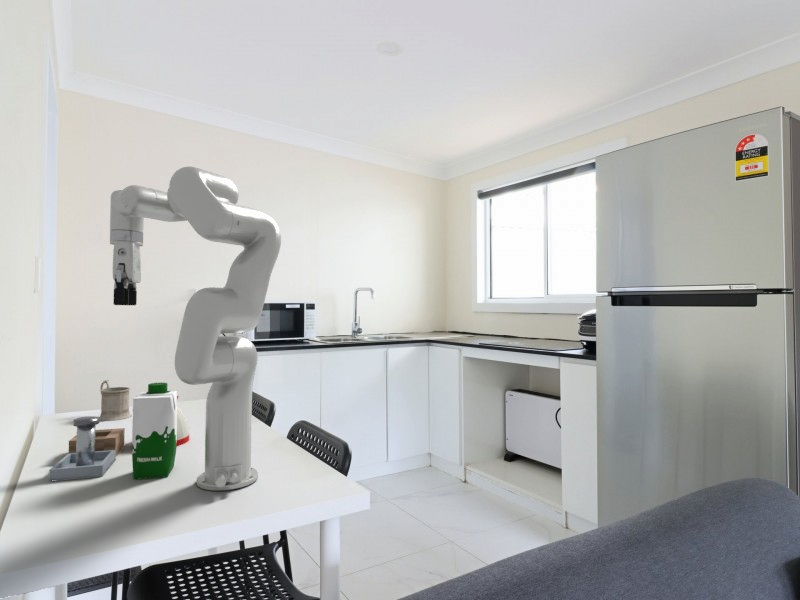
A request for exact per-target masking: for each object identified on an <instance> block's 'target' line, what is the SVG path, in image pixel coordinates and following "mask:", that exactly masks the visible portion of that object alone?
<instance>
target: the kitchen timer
mask: <svg viewBox="0 0 800 600" xmlns="http://www.w3.org/2000/svg"><path fill="white" fill-rule="evenodd" d="M178 399H179V395H177V400H178ZM189 441H190V429H189V426H188V422H187V419H186V416H185V414H184V413H183V411H182V409H181V408H180V407H179V406H178V405H177V447H179V446H182V445H184V444H186V443H188V442H189Z"/></svg>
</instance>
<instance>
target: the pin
mask: <svg viewBox="0 0 800 600" xmlns="http://www.w3.org/2000/svg"><path fill="white" fill-rule="evenodd" d="M99 417H100V416H82V417H77V418H74V419H73V423H72V425H73V426H74V427H76V435H77V441H76V466H88V465H94V458H95V430H96V429H97V428H96V426H97V425H98V424H100V420H99Z"/></svg>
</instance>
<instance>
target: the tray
mask: <svg viewBox="0 0 800 600" xmlns="http://www.w3.org/2000/svg"><path fill="white" fill-rule="evenodd" d="M116 457H117V456H116V450H108V451H95V458H94V465H88V466H76V453H70V454H69V453H67V454H66V455H65V456H64V457H62V458H61V459H60V460H59V461H58V462H56V464H55V465H53V466H52V467H51V468H50V469H49V470H48V471H49V473H48V474H49V476H48V477H49V478H48V482H53V481H52V480H60V481H69V480H79V479H80V480H81V479H89V478H90V479H91V478H101V477H102V478H103V477H104V475H106V474H107V472H108V470H109V469H110V468H111V467H112V465H113V464H114V463H115V461H116V459H117V458H116Z"/></svg>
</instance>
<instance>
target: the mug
mask: <svg viewBox="0 0 800 600" xmlns="http://www.w3.org/2000/svg"><path fill="white" fill-rule="evenodd" d="M109 381H110V380H108V379H106V380H103V381H102V383H101V384H100V394H101V401H100V402H101V404H100V405H101V409H100V416H98V417H99V421H103V422H115V421H120V420H121V421H122V420H126V419H129V418H132V417H133V414H131V413H130V390H131V387H127V386H117V387H110V384H109ZM104 384H105V385H106V388H104Z"/></svg>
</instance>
